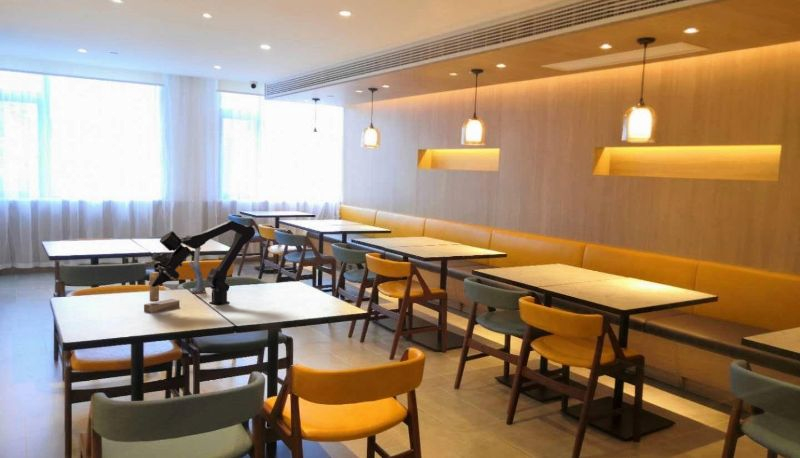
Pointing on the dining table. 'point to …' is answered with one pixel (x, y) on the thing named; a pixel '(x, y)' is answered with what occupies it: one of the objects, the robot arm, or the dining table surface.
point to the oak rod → (154, 290)
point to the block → (161, 305)
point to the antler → (197, 273)
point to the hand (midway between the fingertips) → (150, 285)
